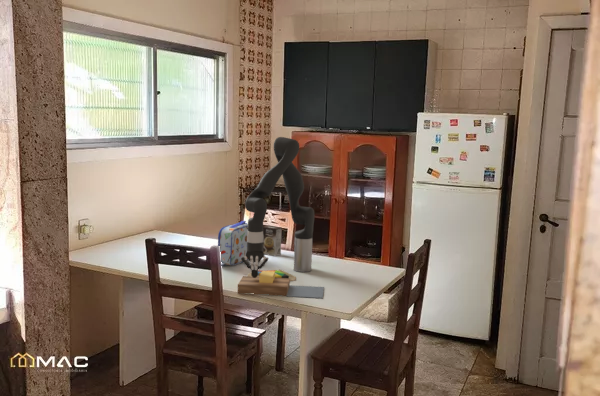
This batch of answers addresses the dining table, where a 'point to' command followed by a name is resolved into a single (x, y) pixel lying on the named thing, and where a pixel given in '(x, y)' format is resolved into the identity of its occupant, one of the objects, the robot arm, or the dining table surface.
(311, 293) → the slate mat
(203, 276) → the dining table surface
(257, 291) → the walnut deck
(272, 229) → the coffee box
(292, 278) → the wooden puzzle
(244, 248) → the lunch box
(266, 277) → the ochre tile
